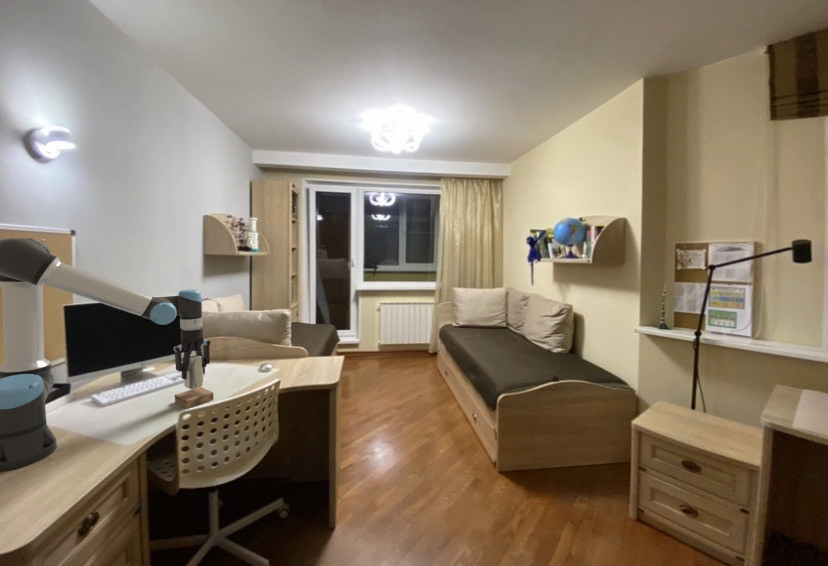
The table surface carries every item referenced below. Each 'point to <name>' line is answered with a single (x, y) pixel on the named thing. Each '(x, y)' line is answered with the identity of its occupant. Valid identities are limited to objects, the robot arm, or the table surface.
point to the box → (195, 371)
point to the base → (194, 397)
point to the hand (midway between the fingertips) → (194, 384)
